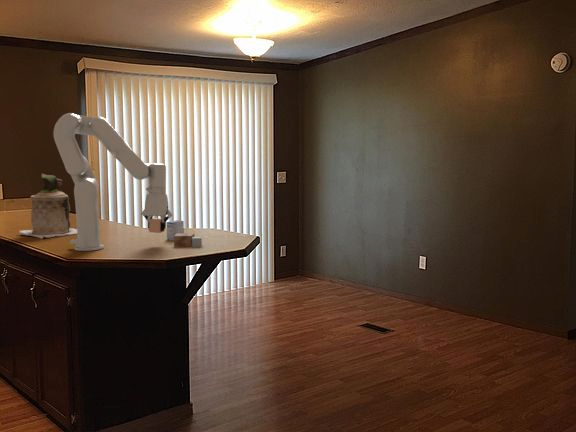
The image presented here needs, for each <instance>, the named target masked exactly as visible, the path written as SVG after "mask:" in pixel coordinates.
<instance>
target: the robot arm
mask: <svg viewBox="0 0 576 432" xmlns="http://www.w3.org/2000/svg"><path fill="white" fill-rule="evenodd" d="M76 135H81V136H82V135H83V136H84V135H85V136H93V137H95V138H96V139H97V141H99V142H100V143H101V144H102V146H103V147H105V149H106V150H107V151H108V152H109V153H110V154H111V155H112V157H113V158H114V159H116V160H117V161H118V162H119V163H120V165H122V166H123V167H124V169H126V170H127V172H128V173H129V174H130V175H131V176H132V177H133V178H134V179H136V180H139V181H141V180H145V179H148V187H146V188H145V191H148V192H147V193H146V195H145V201H144V209H143V210H142V211H141V216H143V217H144V218H145V220H146V221H147V228H148V229H149V219H152V218H154V217H160V218H161V221H162V222H161V229H160V231H165V229H166V222H168V220H169V219H170V218H171V217H173V213H172V212H171V210H170V209H169V199H168V194H167V192H166V190H167V189H166V187H167V186H166V185H167V166H166V164H164V163H156V162H155V163H147V162H144V161H143V160H142V159H141V158H140V157H139V156H138V155H137V154H136V152H134V150H133V149H132V148H131V147H130V145H129V143H128V142H127V141H126V139H125V138H123V136H121V134H120V133H119V132H118V131H117V130H116V129H115V128H114V127H113V126H112V125H111V123H110V122H109V121H108V120H107V119H106V118H104V117H103V116H88V115H79V114H76V113H73V112H68V113H65V114H63V115H62V116H60V117H59V118H58V120H57V121H56V123H55V125H54V128H53V139H54V142H55V145H56V147H57V150H58V152H59V155H60V158H61V160H62V163H63V165H64V168H65V171H66V172H67V173H68V174H69V175H70V177H71V179H72V181H73V184H74V187H73V194H74V204H75V219H76V229H77V234H76V236H77V238H76V239H70V242H69V244H71V245H75V246H74V247H73V248H74V251H78V252H93V251H97V250H98V251H100V250H103V249H104V248H105V245H104V244H101V231H100V229H101V228H100V214H99V213H100V212H99V210H100V209H99V199H98V194H99V193H98V192H99V189H100V187H99V186H100V185H99V182H98V180H97V178H96V176H95V174H94V171H93V168H92V167H91V164H90V162H89V160H88V159H87V157H85V156H84V155H83V153H82V150H81V149H80V147H79V144H78V141H77V139H76Z"/></svg>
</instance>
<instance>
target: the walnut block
mask: <svg viewBox="0 0 576 432" xmlns="http://www.w3.org/2000/svg"><path fill="white" fill-rule="evenodd" d="M193 237H195V233H193V232H191V233H190V232H186V233H185V232H184V233H177V234H176V235H174V240H173V247H174V246H175V247H192V238H193Z"/></svg>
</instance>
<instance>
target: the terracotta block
mask: <svg viewBox="0 0 576 432" xmlns="http://www.w3.org/2000/svg"><path fill="white" fill-rule="evenodd" d="M161 222H162V221H161V217H160V218H159V217H153V218H152V219H149V228H148V232H149V233H153V234H154V233H155V234H157V233H158V234H160V233H163V232H164V231H165V230H164V231H160V229H161Z"/></svg>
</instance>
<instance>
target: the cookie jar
mask: <svg viewBox="0 0 576 432" xmlns="http://www.w3.org/2000/svg"><path fill="white" fill-rule="evenodd" d="M40 178H41V184H42V186H43V189H41V190H40V192H38V193H36V194H33V195H31V196H30V200H31V212H30V214H31V216H30V217H31V218H30V219H31V223H30V224H31V227H32V229H27V230H24V229H23V230H18V232H19V235H20V236H22V235H23V236H30V237H34V238H38V239H43V238H53V237H64V236H71V235H73V236H74V235H77V228H71V222H70V213H71V212H70V211H72V209H71V204H70V202H69V200H70V199H69V195H68V194H66V193H65V192H63V191H62V190H61V189H62V188H60V187H62V186H63V179H60V178H57V177H56V176H55V175H53V174H52V175H51V174H50V175H49V174H45V173H41V174H40Z"/></svg>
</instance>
